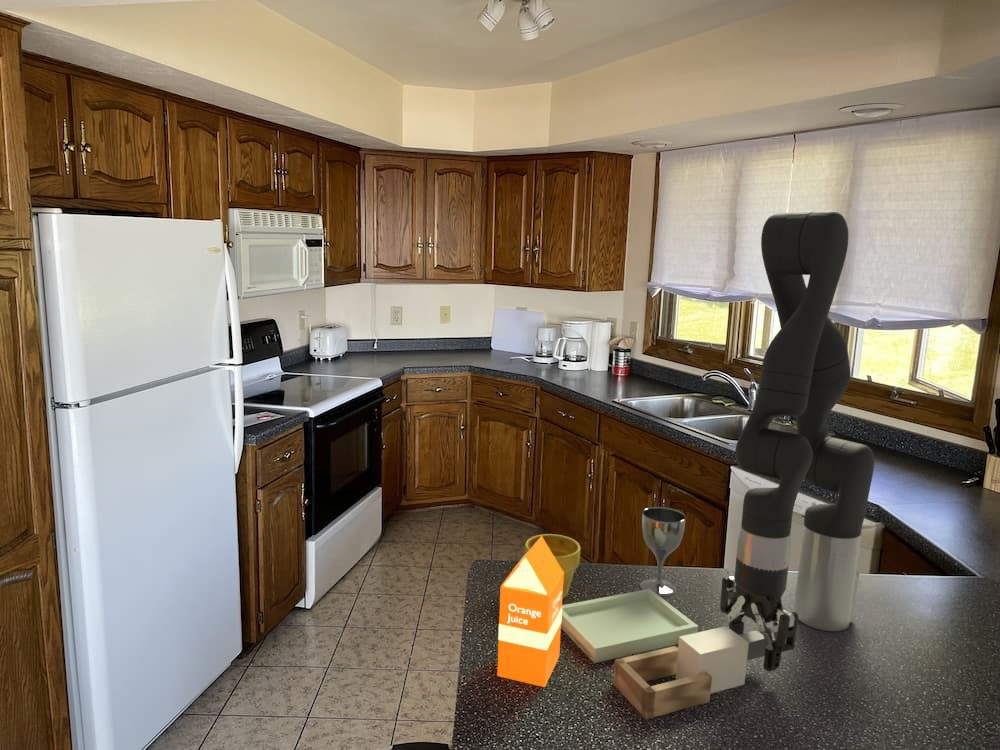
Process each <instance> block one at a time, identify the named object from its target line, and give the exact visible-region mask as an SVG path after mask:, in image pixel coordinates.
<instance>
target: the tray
mask: <svg viewBox="0 0 1000 750" xmlns="http://www.w3.org/2000/svg"><path fill="white" fill-rule="evenodd" d="M561 630H562V631H563V632H564V633H565V634H566V636H567V637H569V638H570V639H571V640H572V642H573V643H574V644H575V645H577V646H578V648H579V649H580V650H581V651H582V652H583V653H584V654H585V655H586V656H587V657H588V658H589V659H590V660H591V662H592V663H594V664H597V663H602V662H606V661H611V660H616V659H620V658H625V657H629V656H633V655H638V654H642V653H646V652H651V651H655V650H660V649H664V648H668V647H673V646H676V645H678V643H679V637H680V636H685V635H689V634H693V633H698V632H699V625H698V624H696V623H695V622H694V621H692V619H690V618H688V617H687V616H686V615H684V614H683V613H682V612H680V610H678V609H676V607H674V606H673V605H671V604H670V603H669V602H668V601H666V599H664V598H662V596H659V595H657V594H656V593H655V592H653V591H652V590H651V589H646V590H642V589H641V590H636V591H631V592H626V593H621V594H619V593H618V594H615V595H610V596H606V597H605V596H604V597H599V598H598V597H597V598H595V599H588V600H583V601H578V602H574V603H573V602H572V603H567V604H562V620H561ZM632 654H633V655H632Z"/></svg>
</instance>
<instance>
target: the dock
mask: <svg viewBox="0 0 1000 750" xmlns="http://www.w3.org/2000/svg"><path fill="white" fill-rule="evenodd" d="M677 655H678V646H676V645H672V646H668V647H663V648H659V649H655V650H650V651H646V652H641V653H637V654H633V655H628V656H624V657H620V658H615V659H614V667H613V680H612V681H613V682H612V684H613V686H614V687H615V688H616V689H617V690H618V691H619V692H620V693H621V694H622V695H623V696H624V697H625V699H626V700H628V702H629V703H631V705H632V706H633V707H634V708H635V709H636V710H637V711H638V712H639V714H641V715H642V716H643V718H645V720H649V719H652V718H656V717H660V716H663V715H667V714H670V713H674V712H677V711H680V710H684V709H688V708H689V709H690V708H692V707H696V706H699V705H704V704H706V703H710V702H711V701H710V700H711V694H710V692H711V682H712V677H711V676H710V675H709V674H708V673H707V672H706V673H702V674H698V675H694V676H690V677H686V678H682V679H678V680H677V679H673V680H671V681H667V682H662V683H660V684H655V685H649V683H647V682H649V681H650V682H651V681H653V680H657V679H662V678H667V677H670V676H675V675H676V667H677Z"/></svg>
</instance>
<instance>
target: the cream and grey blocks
mask: <svg viewBox="0 0 1000 750" xmlns="http://www.w3.org/2000/svg"><path fill="white" fill-rule="evenodd" d="M766 647H767V646H766V642H765V639H764V635H763V634H761V633H760V631H758V630H751V631H748V632H743V634H736V633H735V632H734V631H732V630H731V629H729V626H727V625H725V626H720V627H717V628H712V629H707V630H702V631H698V633H693V634H689V635H685V636H680V637H679V643H678V644H677V648H678V655H677V667H676V674H675V680H678V679H682V678H686V677H690V676H694V675H698V674H702V673H706V672H707V673H708V674H709V675H710V676H711V677H712V682H711V692H710V695H711V694H714V693H715V694H716V693H718V692H722V691H724V690H725V691H726V690H728V689H729V690H730V689H733V688H736V687H739V686H743V685H745V682H746V681H745V680H746V671H747V663H748V661H750V660H754V659H758V658H762V657H765V648H766Z"/></svg>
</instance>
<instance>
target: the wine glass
mask: <svg viewBox="0 0 1000 750" xmlns="http://www.w3.org/2000/svg"><path fill="white" fill-rule="evenodd" d="M641 520H642V521H641V523H642V524H641V525H642V534H643V539H644V542H645V543H646V545H647V547H648V548H649V549H650V550H651V552H653V554H654V556H655V559H656V563H657V564H656V565H657V566H656V567H657V568H656V569H657V570H656V571H657V575H656V576H657V577H656V578H648V579H643V580H642V581H641V582H640V583H639V587H640V589H641V590H646V589H651V590H652V591H653V592H655V593H656V594H657V595H659V596H660V597H671V596H674V595H675V594H677V592H678V588H677V586H676V585H675V584H673V583H672V582H671V581H667V580H664V579H662V571H663V567H664V562H665V560H666V559H667V557H668V556H669V555H670V554H672V552H674V551H676V549H677V548H679V546H680V544H681V542H682V538H683V535H684V533H685V527H686V526H685V525H686V515H685V513H683V511H681V510H678V509H675V508H671V507H665V506H664V507H663V506H651V507H648V508H645V509H644V510H643V511H642V519H641Z"/></svg>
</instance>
